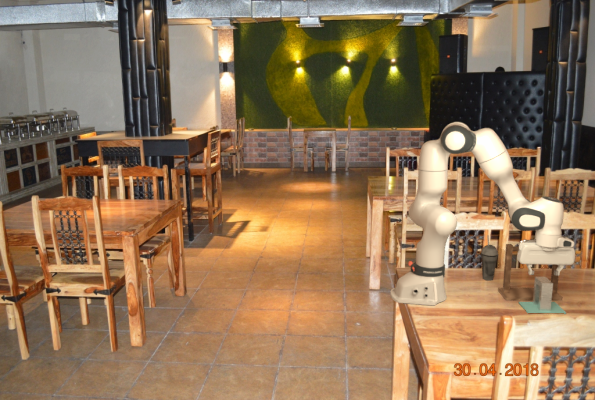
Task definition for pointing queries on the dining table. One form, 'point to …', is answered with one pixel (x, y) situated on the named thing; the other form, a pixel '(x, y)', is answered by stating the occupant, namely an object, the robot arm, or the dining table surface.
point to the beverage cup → (488, 261)
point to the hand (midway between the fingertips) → (543, 274)
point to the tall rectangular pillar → (543, 293)
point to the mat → (534, 309)
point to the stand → (522, 293)
